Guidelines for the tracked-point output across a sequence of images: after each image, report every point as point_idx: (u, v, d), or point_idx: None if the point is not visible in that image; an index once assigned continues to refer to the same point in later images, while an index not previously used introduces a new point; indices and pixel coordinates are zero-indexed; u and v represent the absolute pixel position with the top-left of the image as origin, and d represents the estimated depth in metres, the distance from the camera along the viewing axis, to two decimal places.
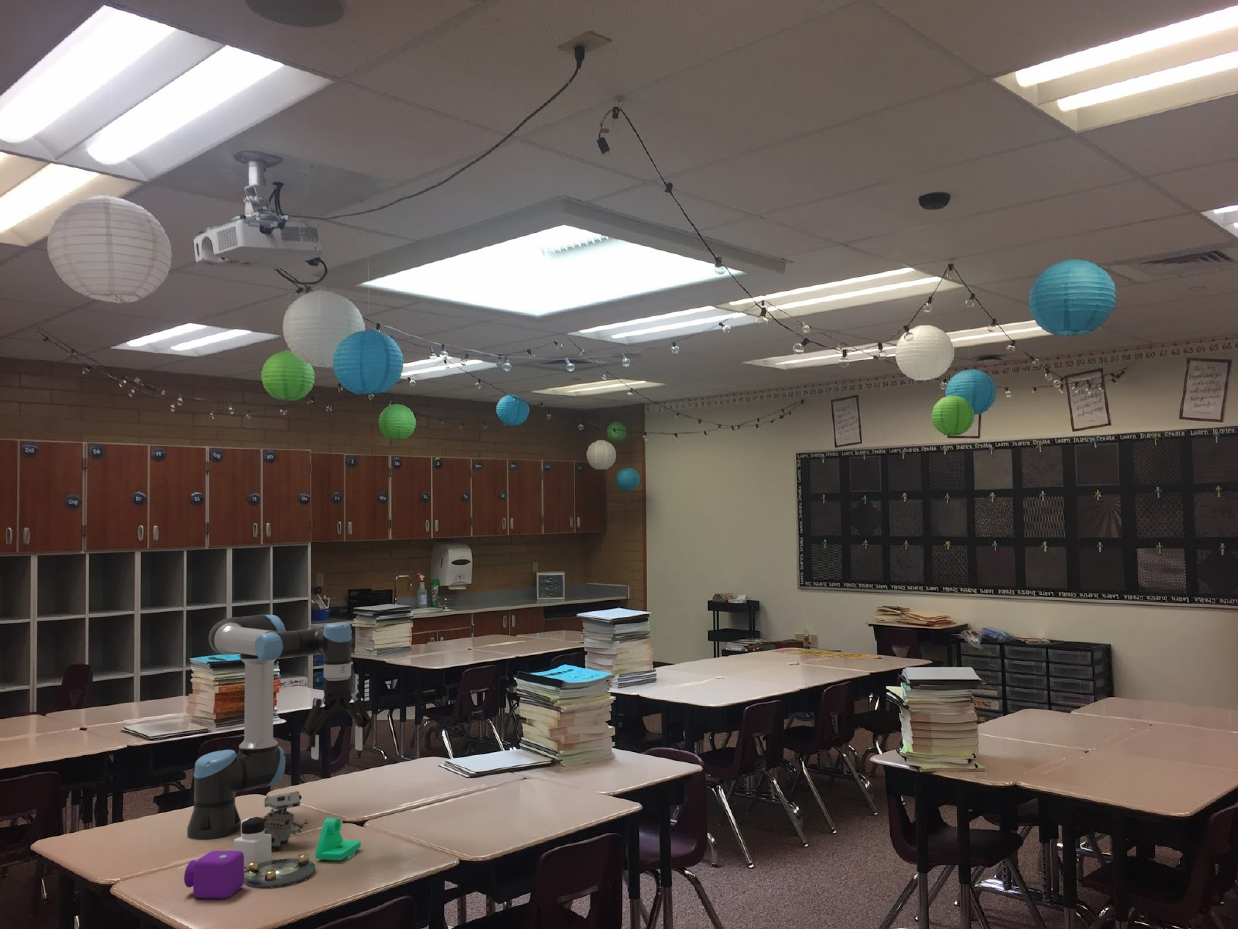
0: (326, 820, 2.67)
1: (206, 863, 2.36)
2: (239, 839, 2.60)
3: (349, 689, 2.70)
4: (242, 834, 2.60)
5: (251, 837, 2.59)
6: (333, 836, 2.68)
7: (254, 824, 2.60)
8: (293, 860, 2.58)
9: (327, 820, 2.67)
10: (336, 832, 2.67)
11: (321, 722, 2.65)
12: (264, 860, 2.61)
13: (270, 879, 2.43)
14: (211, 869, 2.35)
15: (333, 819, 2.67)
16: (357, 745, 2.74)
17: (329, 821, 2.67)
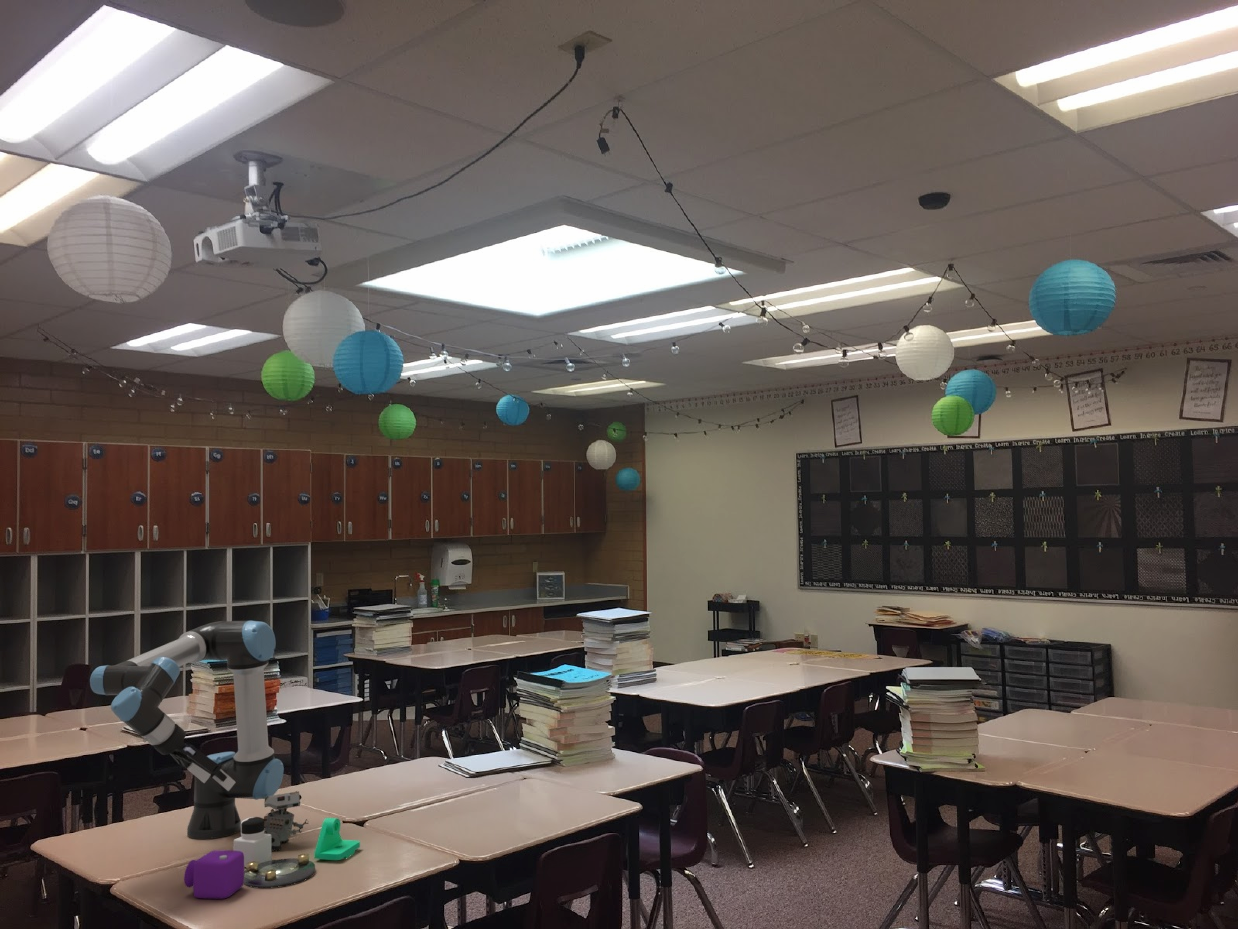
0: (325, 820, 2.67)
1: (206, 863, 2.36)
2: (239, 839, 2.60)
3: (166, 752, 2.44)
4: (242, 834, 2.60)
5: (251, 837, 2.59)
6: (332, 836, 2.68)
7: (254, 824, 2.60)
8: (293, 860, 2.58)
9: (326, 820, 2.67)
10: (335, 832, 2.67)
11: (181, 761, 2.54)
12: (264, 860, 2.61)
13: (270, 879, 2.43)
14: (211, 869, 2.35)
15: (332, 819, 2.67)
16: None
17: (328, 821, 2.67)
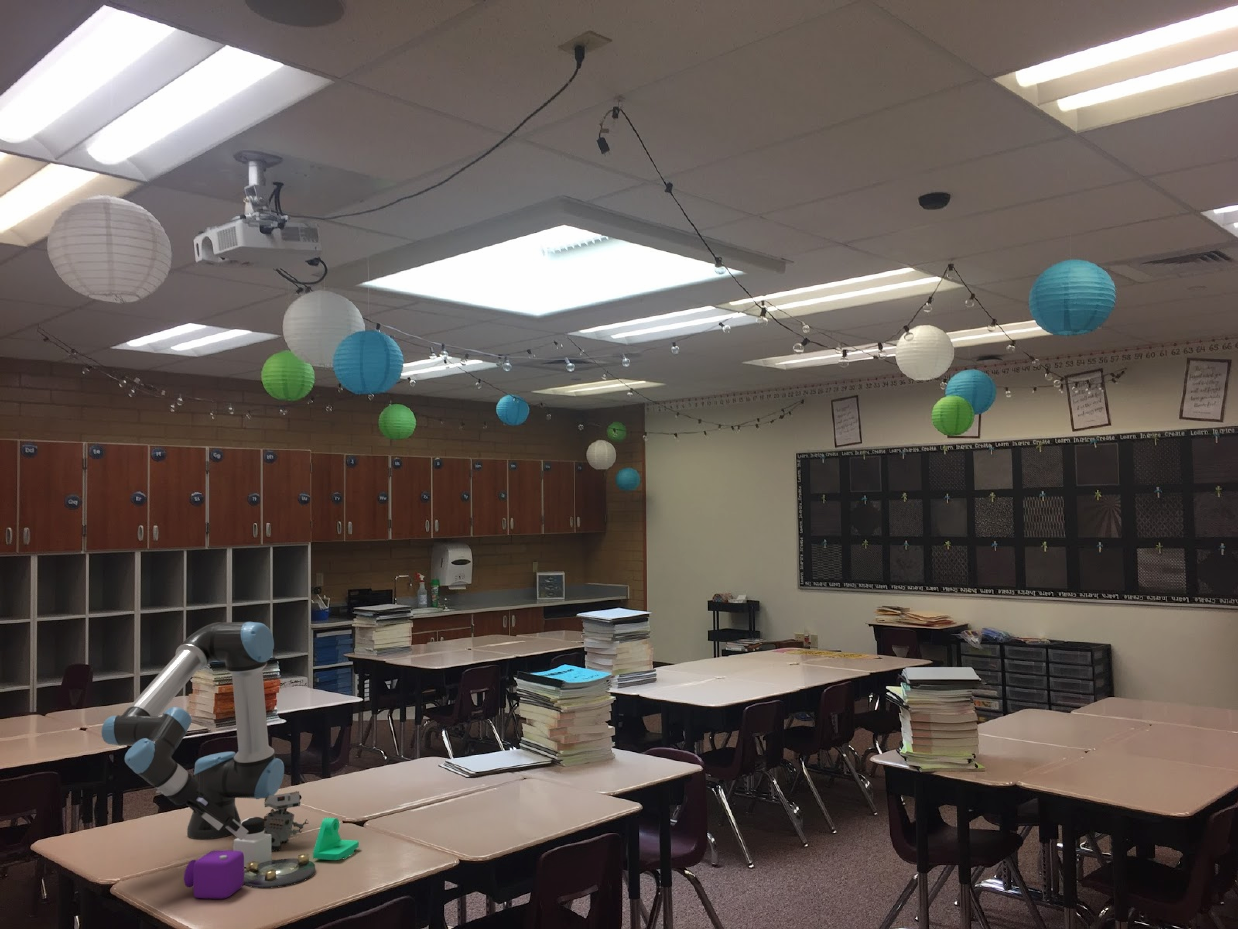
0: (324, 820, 2.67)
1: (206, 863, 2.36)
2: (239, 839, 2.60)
3: (180, 803, 2.46)
4: None
5: (251, 837, 2.59)
6: (331, 836, 2.69)
7: (254, 824, 2.60)
8: (293, 860, 2.58)
9: (325, 820, 2.67)
10: (334, 832, 2.67)
11: (195, 810, 2.56)
12: (264, 860, 2.61)
13: (270, 879, 2.43)
14: (211, 869, 2.35)
15: (331, 819, 2.67)
16: None
17: (327, 821, 2.67)
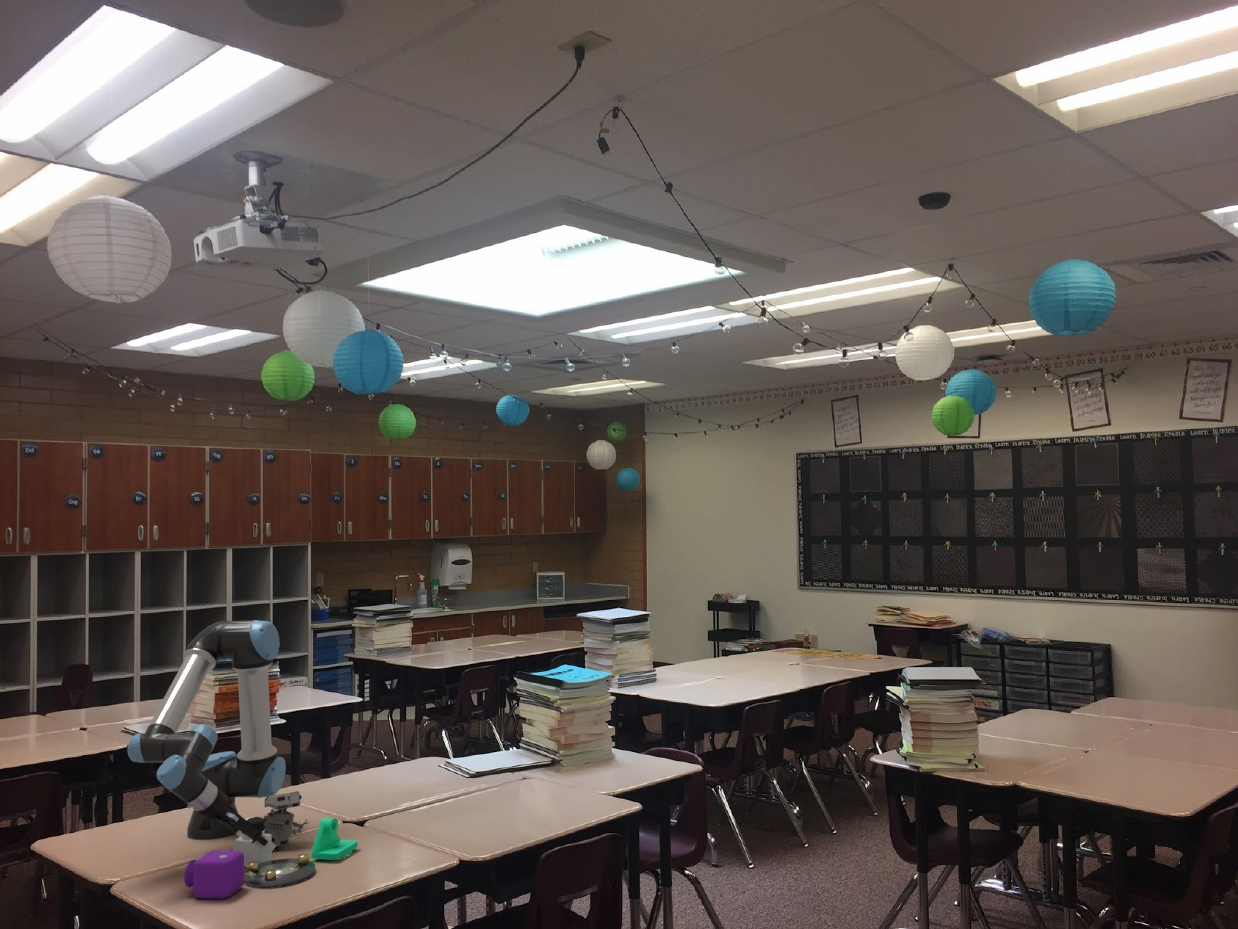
0: (323, 820, 2.67)
1: (206, 863, 2.36)
2: (239, 839, 2.60)
3: (210, 818, 2.52)
4: (242, 834, 2.60)
5: None
6: (330, 836, 2.69)
7: (254, 824, 2.60)
8: (293, 860, 2.58)
9: (324, 820, 2.67)
10: (332, 832, 2.67)
11: (228, 826, 2.62)
12: (264, 859, 2.61)
13: (270, 879, 2.43)
14: (211, 869, 2.35)
15: (330, 819, 2.67)
16: None
17: (325, 821, 2.67)
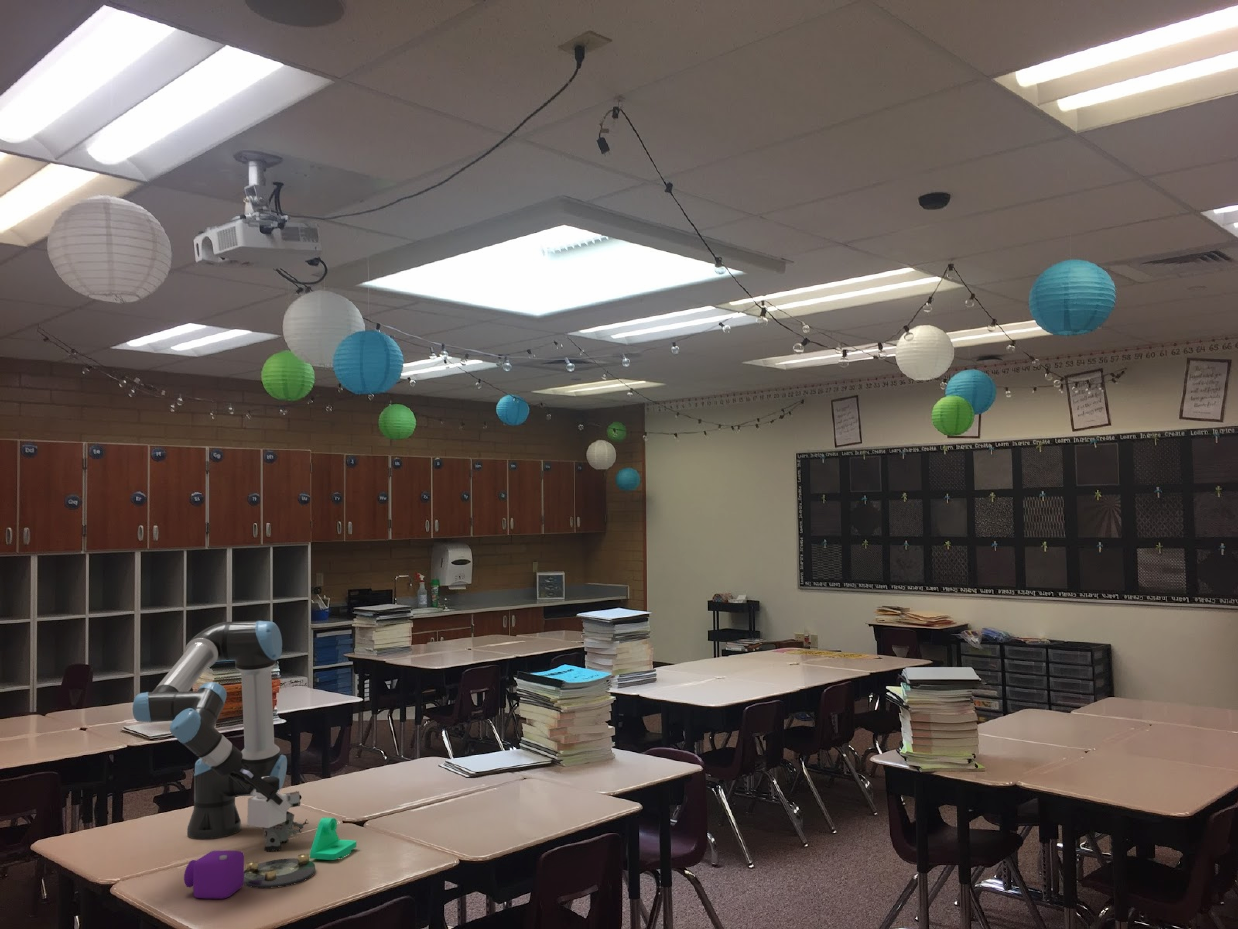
0: (321, 820, 2.67)
1: (206, 863, 2.36)
2: (253, 798, 2.53)
3: (224, 774, 2.45)
4: (256, 793, 2.53)
5: None
6: (329, 836, 2.69)
7: (268, 782, 2.53)
8: (293, 860, 2.58)
9: (322, 820, 2.67)
10: (331, 832, 2.67)
11: (242, 785, 2.55)
12: (278, 820, 2.53)
13: (270, 879, 2.43)
14: (211, 869, 2.35)
15: (328, 819, 2.68)
16: None
17: (324, 821, 2.67)
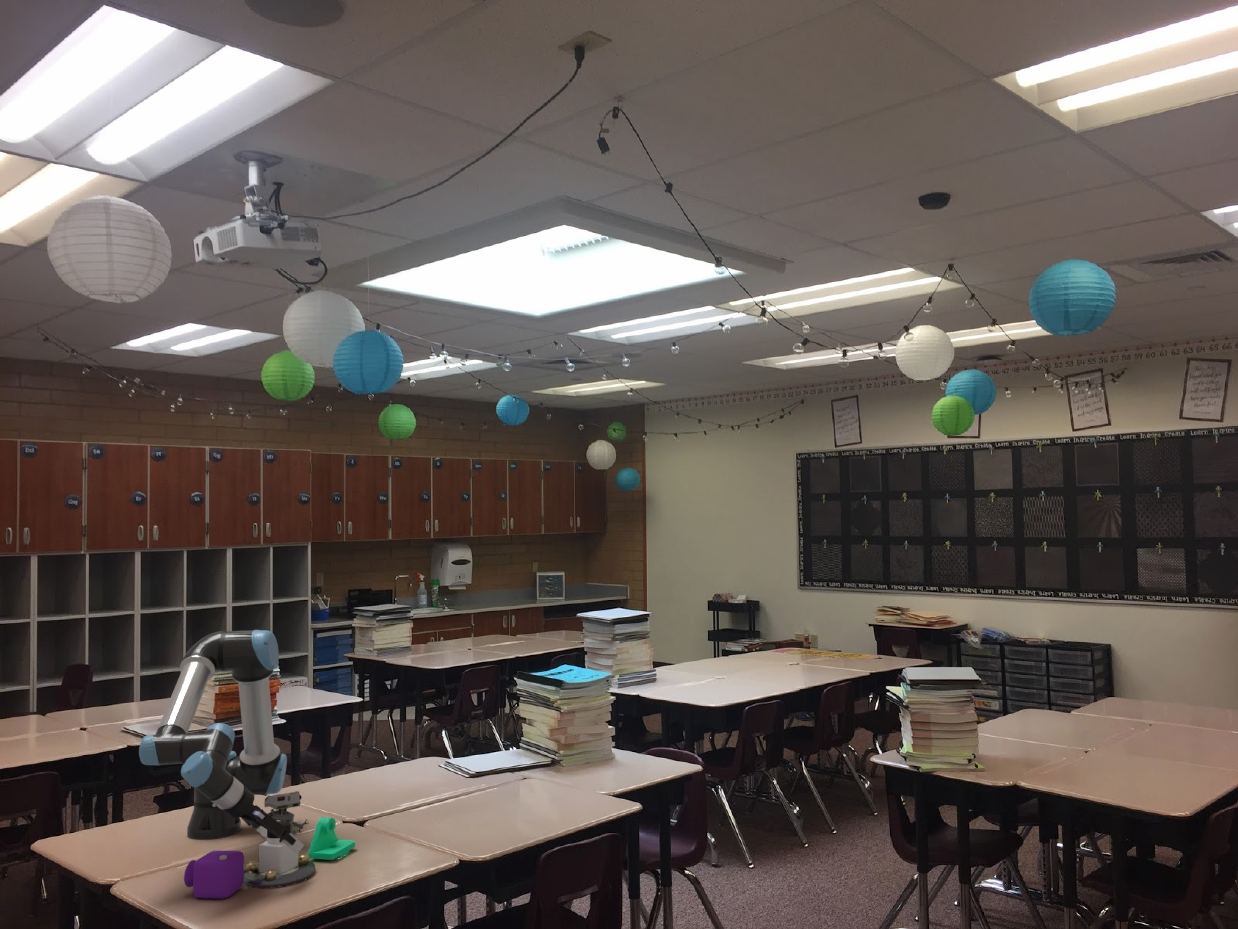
0: (320, 819, 2.68)
1: (206, 863, 2.36)
2: (265, 844, 2.50)
3: (236, 817, 2.42)
4: (268, 838, 2.50)
5: (277, 841, 2.49)
6: (327, 835, 2.69)
7: None
8: None
9: (321, 819, 2.68)
10: (330, 832, 2.67)
11: (250, 823, 2.52)
12: (290, 865, 2.51)
13: (270, 879, 2.43)
14: (211, 869, 2.35)
15: (327, 819, 2.68)
16: None
17: (322, 820, 2.67)
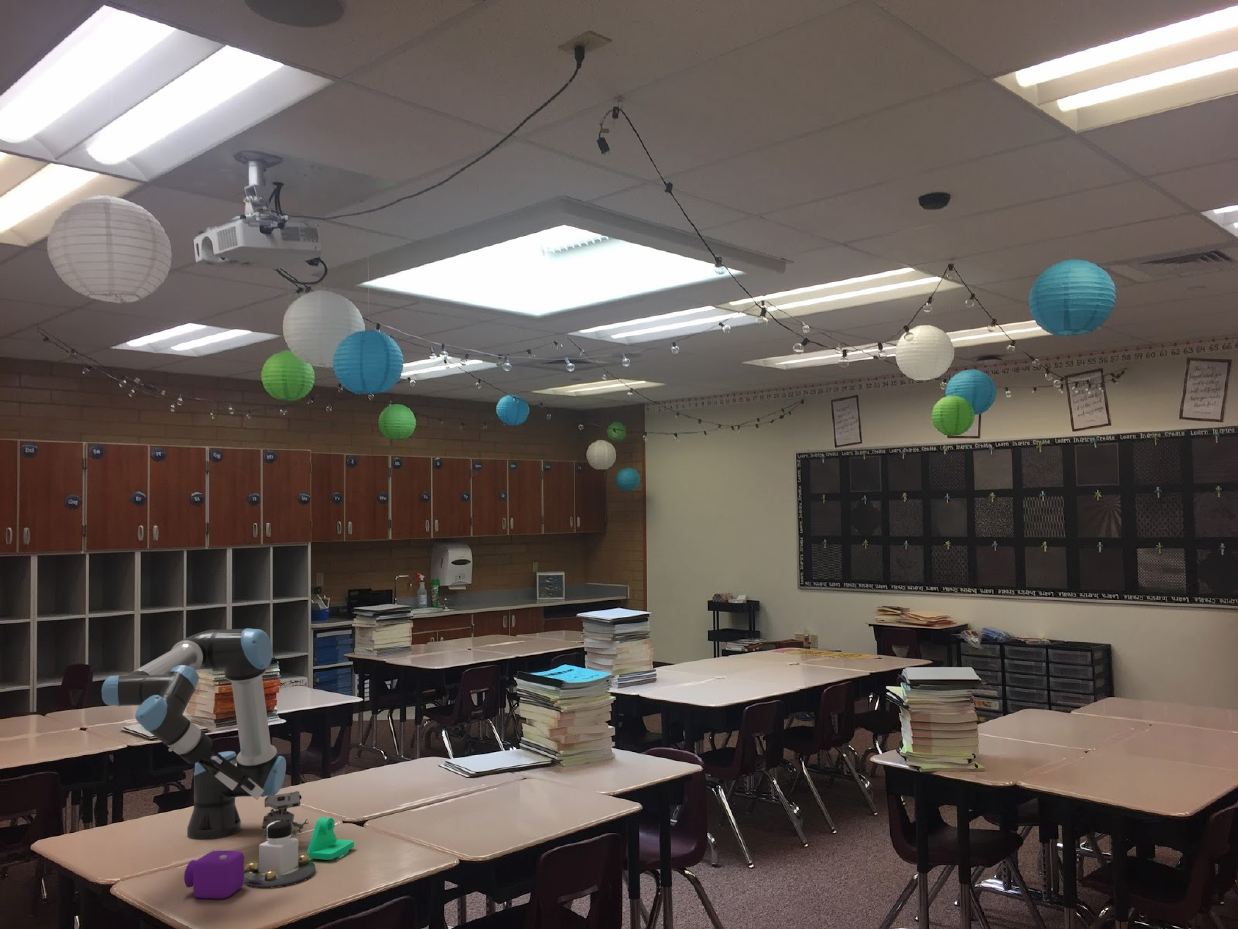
0: (319, 819, 2.68)
1: (206, 863, 2.36)
2: (265, 844, 2.50)
3: (193, 762, 2.37)
4: (268, 838, 2.50)
5: (277, 842, 2.49)
6: (326, 835, 2.69)
7: (280, 828, 2.50)
8: None
9: (320, 819, 2.68)
10: (329, 831, 2.67)
11: (208, 769, 2.47)
12: (290, 865, 2.51)
13: (270, 879, 2.43)
14: (211, 869, 2.35)
15: (326, 818, 2.68)
16: None
17: (321, 820, 2.67)
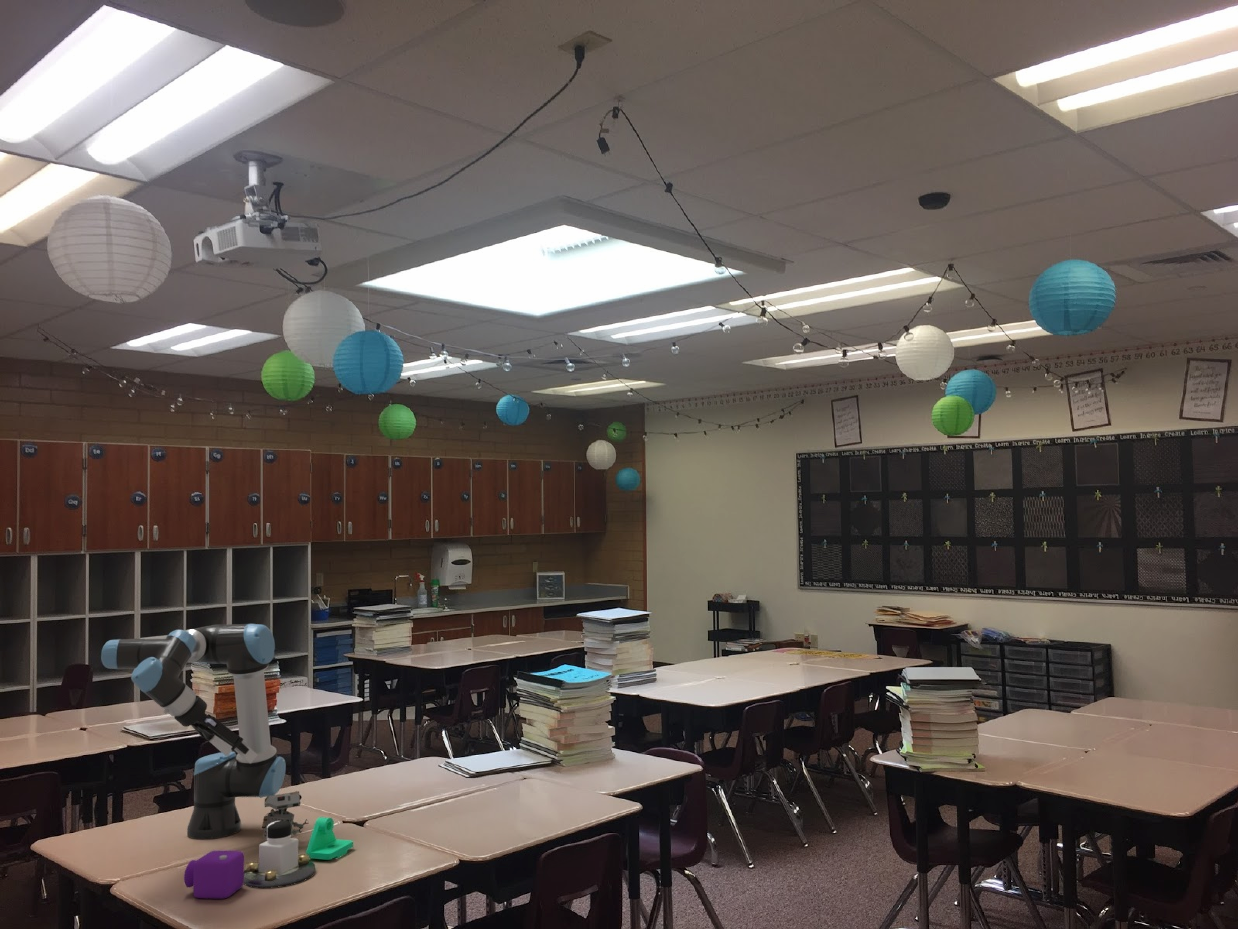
0: (318, 819, 2.68)
1: (206, 863, 2.36)
2: (265, 844, 2.50)
3: (188, 724, 2.41)
4: (268, 838, 2.50)
5: (277, 842, 2.49)
6: (325, 835, 2.69)
7: (280, 828, 2.50)
8: None
9: (319, 819, 2.68)
10: (328, 831, 2.67)
11: (203, 734, 2.51)
12: (290, 865, 2.51)
13: (270, 879, 2.43)
14: (211, 869, 2.35)
15: (325, 818, 2.68)
16: None
17: (320, 820, 2.67)
